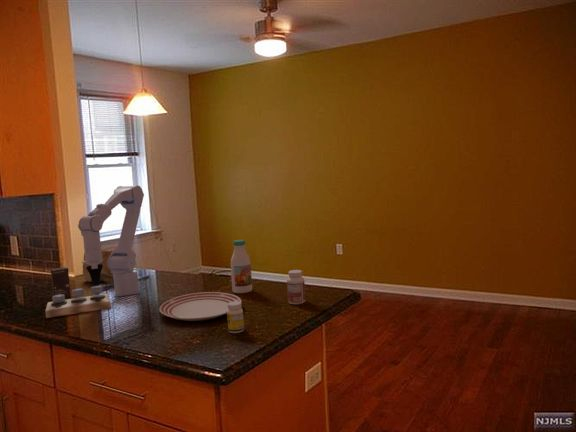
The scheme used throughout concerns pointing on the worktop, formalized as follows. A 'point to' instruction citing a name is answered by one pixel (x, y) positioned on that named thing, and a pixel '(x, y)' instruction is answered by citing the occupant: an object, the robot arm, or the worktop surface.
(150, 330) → the worktop surface
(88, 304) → the button board
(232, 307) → the supplement bottle
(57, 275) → the box
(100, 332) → the worktop surface
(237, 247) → the milk bottle
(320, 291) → the worktop surface
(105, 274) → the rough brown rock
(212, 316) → the dinner plate
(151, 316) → the worktop surface
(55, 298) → the button
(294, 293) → the pill bottle
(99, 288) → the button
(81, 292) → the button middle
